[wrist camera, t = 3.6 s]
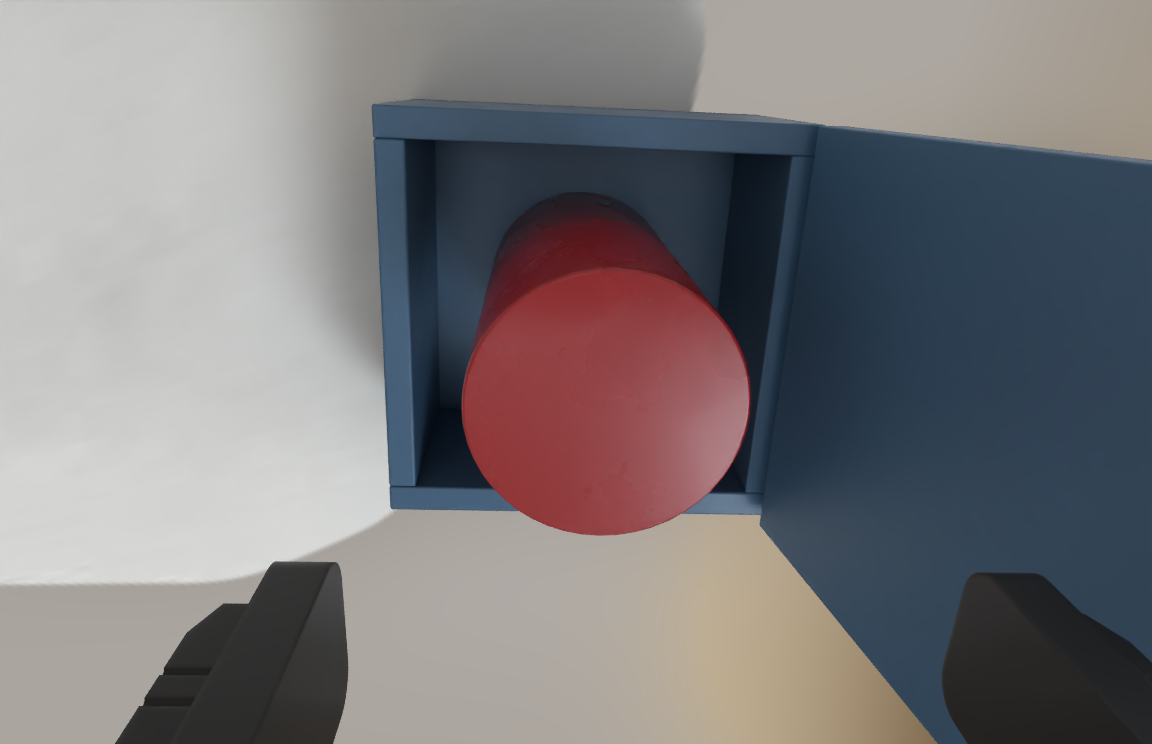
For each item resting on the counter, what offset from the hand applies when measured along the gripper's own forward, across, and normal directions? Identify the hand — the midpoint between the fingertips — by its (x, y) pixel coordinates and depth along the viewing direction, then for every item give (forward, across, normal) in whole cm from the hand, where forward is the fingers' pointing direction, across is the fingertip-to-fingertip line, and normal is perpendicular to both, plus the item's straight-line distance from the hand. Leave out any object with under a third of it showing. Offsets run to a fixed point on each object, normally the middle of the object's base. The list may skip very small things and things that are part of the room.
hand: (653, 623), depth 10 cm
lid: (+6, -6, 0) cm, 9 cm away
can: (+18, 0, 0) cm, 18 cm away
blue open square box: (+19, 0, 0) cm, 19 cm away
